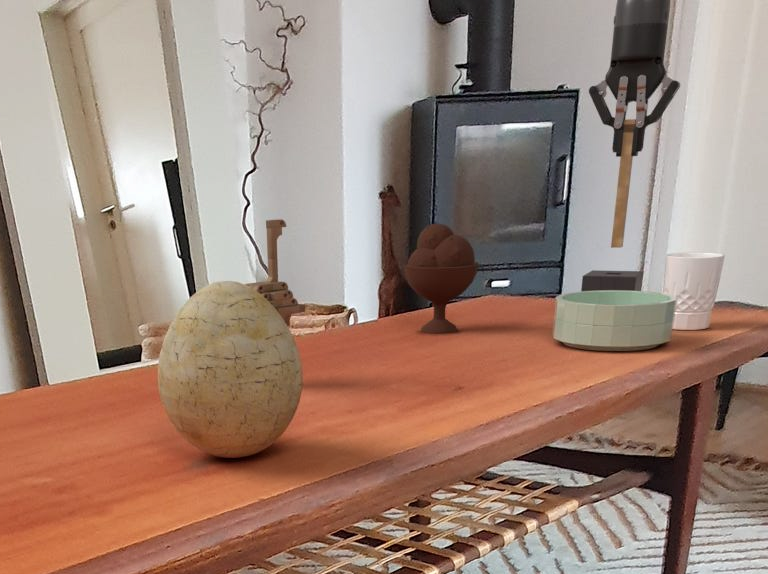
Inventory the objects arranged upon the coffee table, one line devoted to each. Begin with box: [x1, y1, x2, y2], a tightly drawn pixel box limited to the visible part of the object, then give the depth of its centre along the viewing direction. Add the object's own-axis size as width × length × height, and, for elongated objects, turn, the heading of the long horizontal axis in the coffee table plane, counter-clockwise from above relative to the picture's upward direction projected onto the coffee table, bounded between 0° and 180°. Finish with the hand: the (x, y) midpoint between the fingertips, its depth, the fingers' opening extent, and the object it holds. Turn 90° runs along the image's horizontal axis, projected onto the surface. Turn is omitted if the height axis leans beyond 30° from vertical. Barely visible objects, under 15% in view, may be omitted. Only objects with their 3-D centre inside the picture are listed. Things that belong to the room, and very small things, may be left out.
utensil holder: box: [580, 270, 644, 291], centre depth 158 cm, size 8×8×6 cm
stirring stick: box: [610, 118, 636, 249], centre depth 150 cm, size 2×2×18 cm
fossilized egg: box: [156, 280, 304, 459], centre depth 85 cm, size 13×13×15 cm
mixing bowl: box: [551, 290, 678, 352], centre depth 132 cm, size 16×16×6 cm
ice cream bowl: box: [403, 222, 480, 334], centre depth 144 cm, size 11×11×15 cm
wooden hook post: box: [244, 218, 306, 327], centre depth 109 cm, size 17×7×18 cm, turn 132°
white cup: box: [662, 251, 726, 331], centre depth 141 cm, size 8×8×10 cm
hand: (626, 155), depth 149 cm, fingers closed on stirring stick, 1 cm apart
